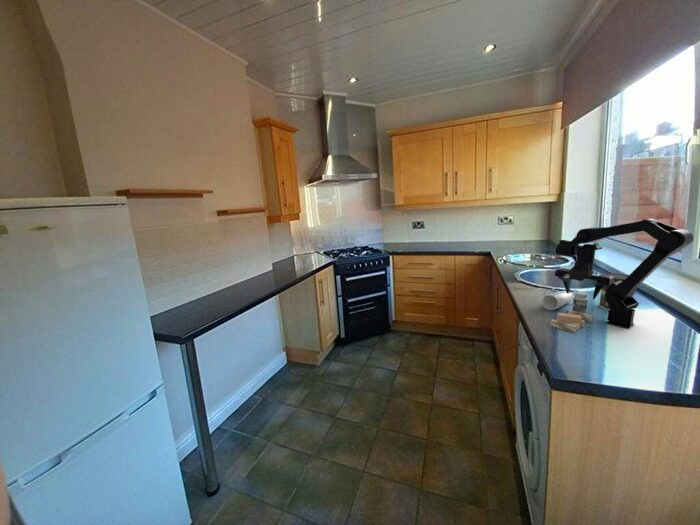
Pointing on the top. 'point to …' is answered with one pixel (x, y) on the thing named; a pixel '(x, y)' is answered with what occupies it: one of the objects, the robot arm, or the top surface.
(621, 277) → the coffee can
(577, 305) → the pill bottle
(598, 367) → the top surface
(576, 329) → the lower offcut
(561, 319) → the upper offcut
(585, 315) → the offcut rack
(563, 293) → the drinking glass
